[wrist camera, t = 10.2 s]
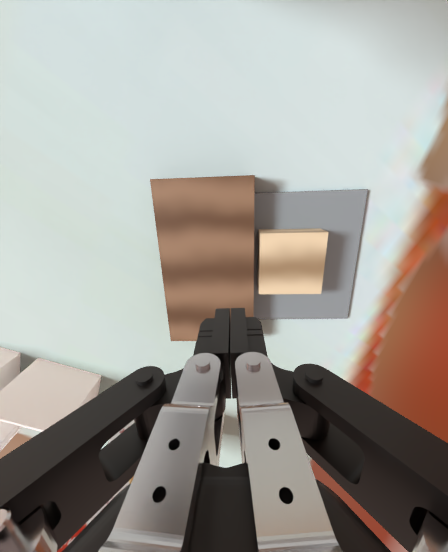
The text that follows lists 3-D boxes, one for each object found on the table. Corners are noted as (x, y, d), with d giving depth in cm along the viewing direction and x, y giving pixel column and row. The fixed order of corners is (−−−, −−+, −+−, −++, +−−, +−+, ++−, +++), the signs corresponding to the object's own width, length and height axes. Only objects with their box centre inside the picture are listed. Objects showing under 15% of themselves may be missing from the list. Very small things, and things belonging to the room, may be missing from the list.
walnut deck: (157, 180, 31) (150, 179, 28) (252, 176, 30) (254, 175, 28) (175, 329, 39) (170, 340, 36) (252, 329, 38) (253, 340, 35)
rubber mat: (244, 193, 31) (244, 193, 31) (366, 189, 30) (367, 189, 30) (245, 317, 37) (245, 319, 37) (346, 317, 36) (347, 318, 36)
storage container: (102, 374, 43) (59, 434, 32) (94, 417, 46) (53, 483, 36) (-45, 333, 41) (-138, 382, 31) (-40, 381, 45) (-123, 440, 34)
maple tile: (258, 229, 32) (260, 233, 29) (320, 228, 32) (328, 232, 29) (257, 285, 35) (259, 294, 32) (314, 285, 34) (321, 294, 32)
